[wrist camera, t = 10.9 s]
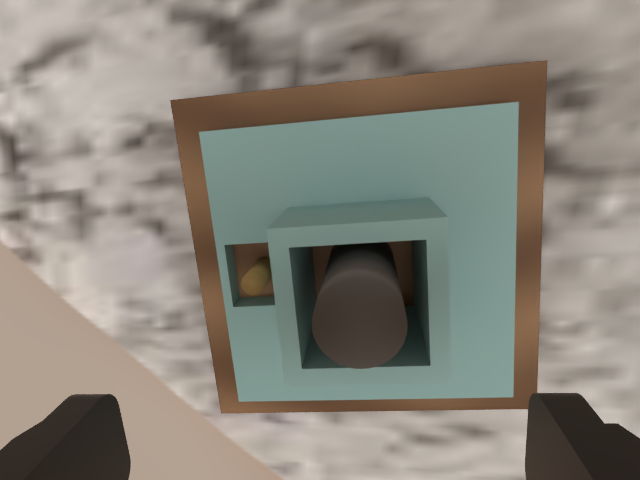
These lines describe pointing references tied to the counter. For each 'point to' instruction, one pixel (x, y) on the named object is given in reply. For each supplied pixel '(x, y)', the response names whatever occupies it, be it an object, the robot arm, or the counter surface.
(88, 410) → the robot arm
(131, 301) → the counter surface
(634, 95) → the counter surface
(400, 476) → the counter surface
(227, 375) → the post block
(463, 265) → the flange plate
